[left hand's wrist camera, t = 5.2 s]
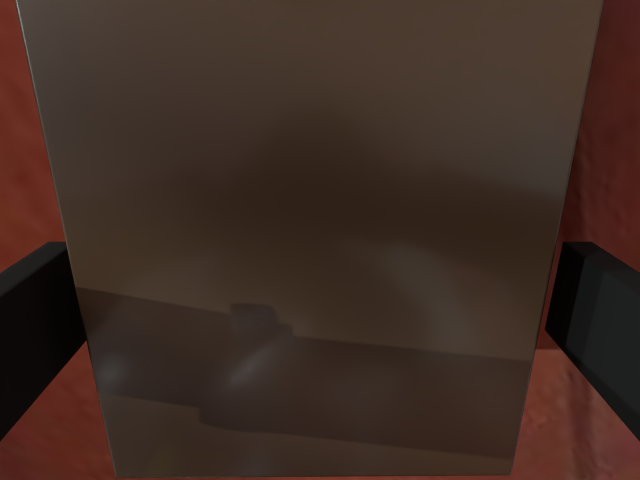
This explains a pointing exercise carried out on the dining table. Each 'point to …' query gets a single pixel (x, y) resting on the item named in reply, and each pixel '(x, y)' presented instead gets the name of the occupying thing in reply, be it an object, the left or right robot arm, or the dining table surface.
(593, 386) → the left robot arm
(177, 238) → the cabinet
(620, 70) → the dining table surface
